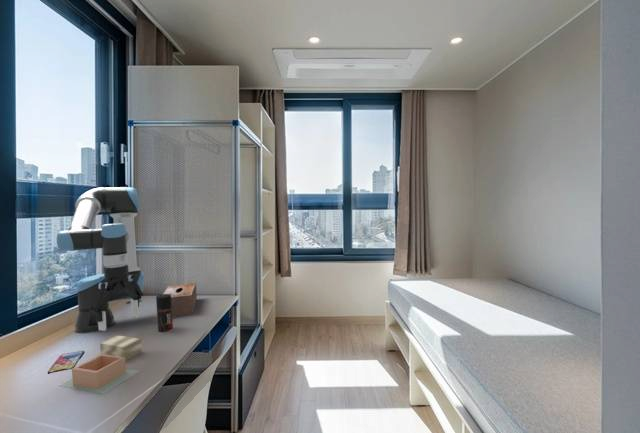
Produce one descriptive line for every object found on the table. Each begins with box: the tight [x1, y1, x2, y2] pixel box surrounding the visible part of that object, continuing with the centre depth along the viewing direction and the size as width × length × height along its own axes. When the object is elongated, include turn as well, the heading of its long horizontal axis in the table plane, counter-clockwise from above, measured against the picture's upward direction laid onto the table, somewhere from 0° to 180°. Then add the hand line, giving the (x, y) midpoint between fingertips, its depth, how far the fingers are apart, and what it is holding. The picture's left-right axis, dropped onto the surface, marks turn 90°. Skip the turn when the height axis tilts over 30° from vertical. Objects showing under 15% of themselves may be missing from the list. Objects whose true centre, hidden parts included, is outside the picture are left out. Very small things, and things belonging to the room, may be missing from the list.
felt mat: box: [58, 368, 140, 395], centre depth 103 cm, size 18×13×1 cm
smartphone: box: [47, 350, 85, 375], centre depth 116 cm, size 7×1×15 cm
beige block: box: [99, 335, 143, 362], centre depth 120 cm, size 12×7×6 cm, turn 70°
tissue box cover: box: [162, 282, 198, 318], centre depth 172 cm, size 26×14×10 cm, turn 16°
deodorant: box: [155, 293, 174, 333], centre depth 143 cm, size 6×6×15 cm
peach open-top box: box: [71, 353, 127, 389], centre depth 103 cm, size 10×10×5 cm
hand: (119, 323), depth 119 cm, fingers open, 13 cm apart
